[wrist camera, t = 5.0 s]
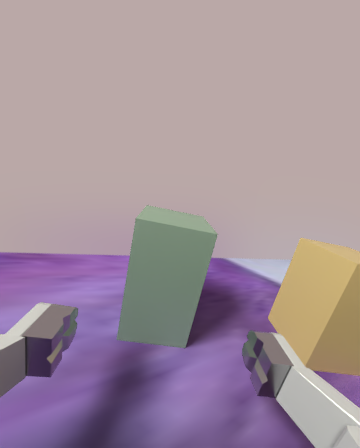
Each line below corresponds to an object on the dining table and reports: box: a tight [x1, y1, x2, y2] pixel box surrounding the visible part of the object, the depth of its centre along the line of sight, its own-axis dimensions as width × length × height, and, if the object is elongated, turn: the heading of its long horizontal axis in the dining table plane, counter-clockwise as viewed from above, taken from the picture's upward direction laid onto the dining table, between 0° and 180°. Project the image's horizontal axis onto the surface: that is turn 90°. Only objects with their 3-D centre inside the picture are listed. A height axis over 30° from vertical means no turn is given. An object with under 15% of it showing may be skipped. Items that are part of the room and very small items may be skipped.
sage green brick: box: [117, 205, 217, 348], centre depth 14 cm, size 5×5×9 cm
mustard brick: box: [268, 238, 360, 376], centre depth 15 cm, size 5×5×9 cm
